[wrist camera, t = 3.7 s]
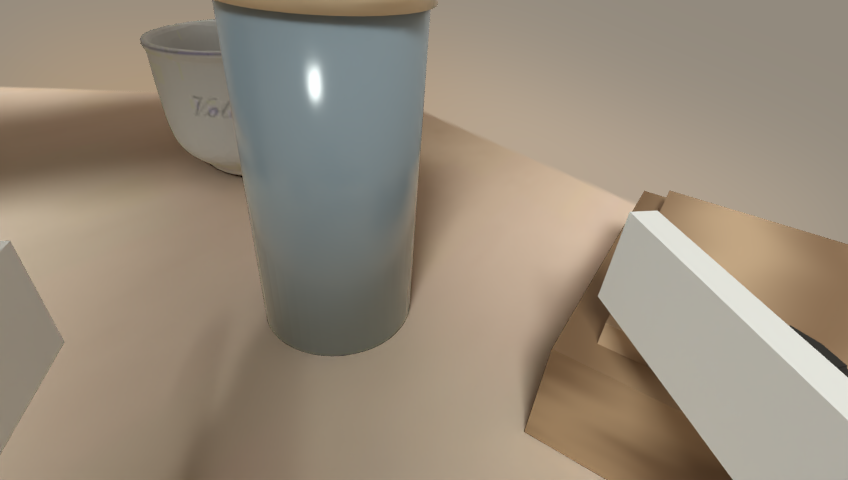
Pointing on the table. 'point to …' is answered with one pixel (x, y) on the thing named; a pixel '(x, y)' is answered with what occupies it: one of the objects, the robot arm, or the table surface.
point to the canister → (329, 159)
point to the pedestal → (636, 382)
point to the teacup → (194, 90)
